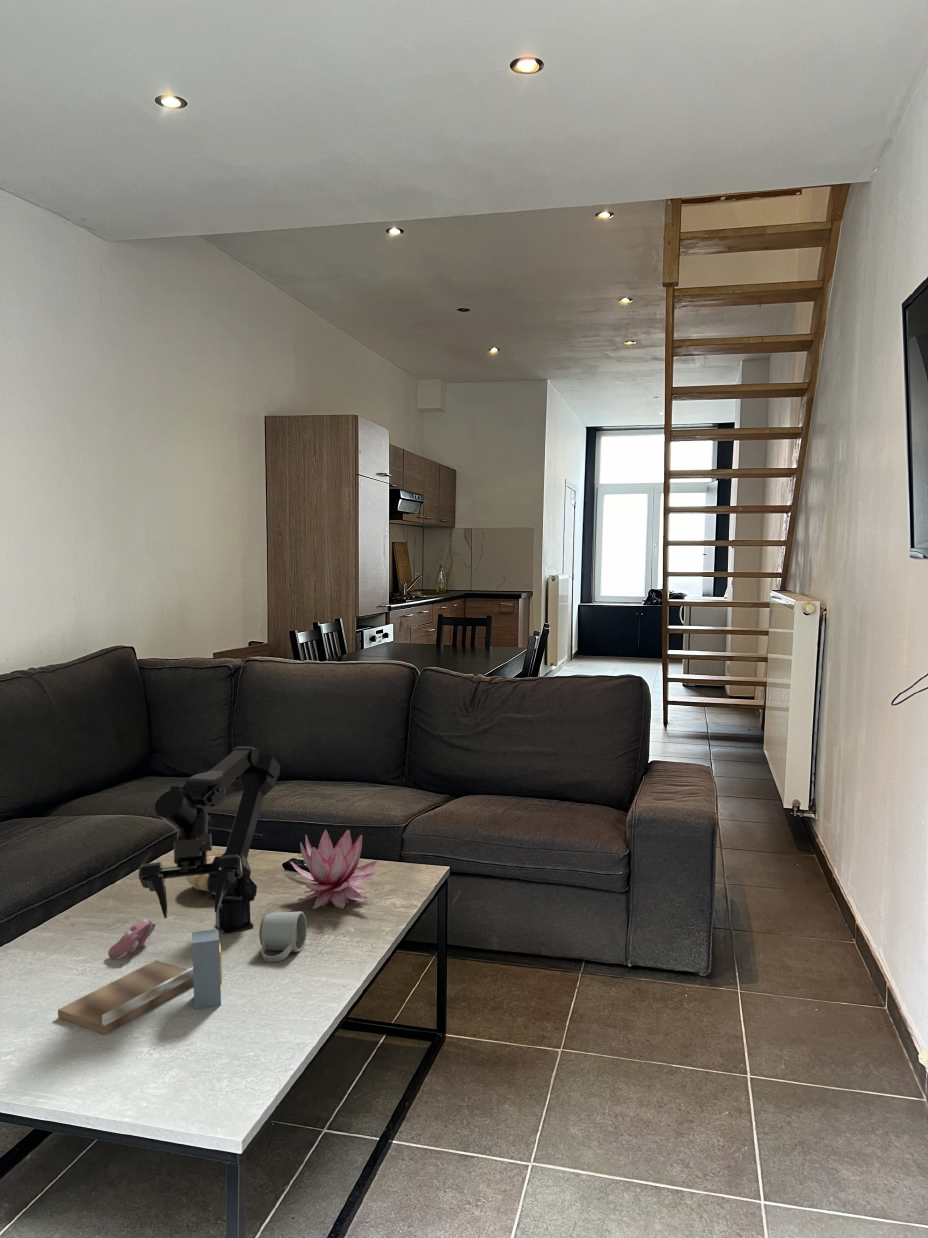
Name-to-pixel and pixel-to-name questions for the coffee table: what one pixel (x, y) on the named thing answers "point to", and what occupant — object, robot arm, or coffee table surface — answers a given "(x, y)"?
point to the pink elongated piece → (132, 939)
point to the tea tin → (206, 968)
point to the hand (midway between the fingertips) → (190, 914)
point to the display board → (127, 997)
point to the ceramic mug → (282, 934)
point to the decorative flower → (334, 870)
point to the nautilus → (201, 877)
